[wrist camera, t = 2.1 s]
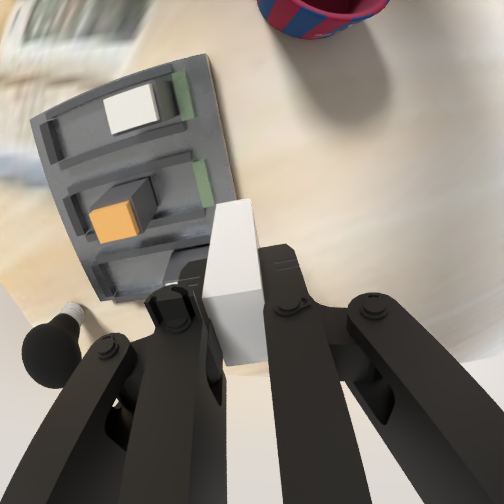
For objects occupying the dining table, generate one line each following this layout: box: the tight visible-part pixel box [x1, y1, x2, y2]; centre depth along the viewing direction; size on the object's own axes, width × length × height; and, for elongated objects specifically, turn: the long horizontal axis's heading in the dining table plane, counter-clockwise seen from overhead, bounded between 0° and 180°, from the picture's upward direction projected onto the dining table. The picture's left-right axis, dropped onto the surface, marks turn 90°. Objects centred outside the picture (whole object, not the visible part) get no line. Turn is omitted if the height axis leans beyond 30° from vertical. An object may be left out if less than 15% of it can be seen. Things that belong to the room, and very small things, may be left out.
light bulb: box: [22, 302, 85, 389], centre depth 23 cm, size 6×6×10 cm
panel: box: [30, 53, 237, 303], centre depth 21 cm, size 17×14×2 cm
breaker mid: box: [89, 178, 158, 244], centre depth 18 cm, size 2×3×4 cm
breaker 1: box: [103, 79, 178, 137], centre depth 15 cm, size 2×3×4 cm
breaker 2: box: [162, 245, 210, 286], centre depth 21 cm, size 2×3×4 cm
